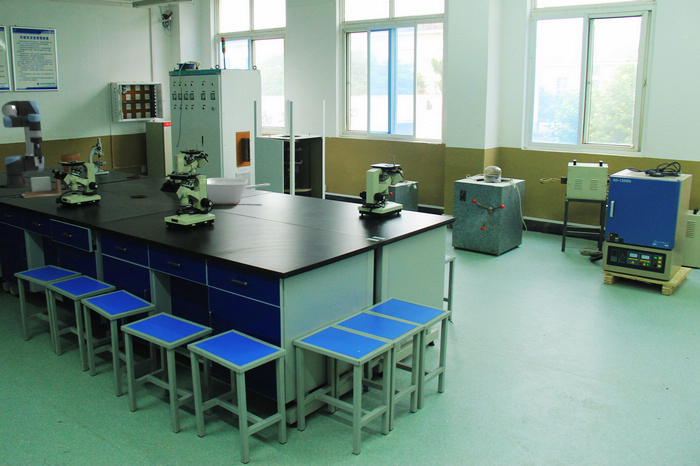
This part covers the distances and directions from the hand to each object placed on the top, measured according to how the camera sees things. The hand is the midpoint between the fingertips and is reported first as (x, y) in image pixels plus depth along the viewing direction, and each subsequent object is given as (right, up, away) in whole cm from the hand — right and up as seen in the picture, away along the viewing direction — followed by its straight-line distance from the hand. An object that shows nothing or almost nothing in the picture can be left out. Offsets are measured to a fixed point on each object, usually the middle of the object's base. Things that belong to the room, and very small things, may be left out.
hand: (39, 167), depth 422 cm
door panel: (0, -19, +4) cm, 19 cm away
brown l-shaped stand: (-1, -20, +6) cm, 20 cm away
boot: (+12, -12, +39) cm, 42 cm away
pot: (+142, -26, -10) cm, 144 cm away
